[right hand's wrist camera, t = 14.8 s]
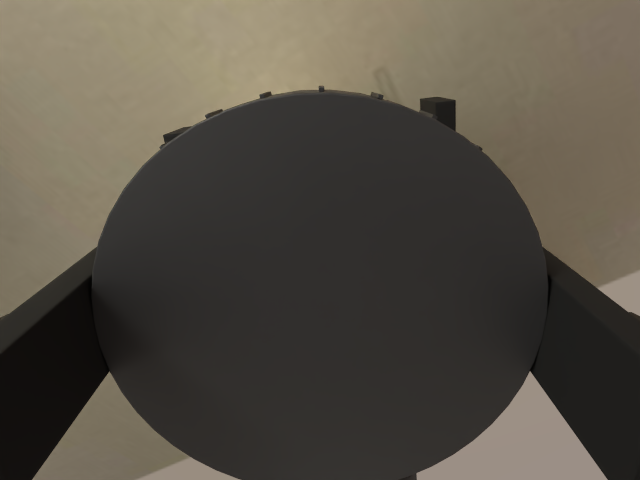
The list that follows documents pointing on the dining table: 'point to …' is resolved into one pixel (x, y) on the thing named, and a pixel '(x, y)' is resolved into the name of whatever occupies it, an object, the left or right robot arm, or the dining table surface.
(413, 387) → the lid
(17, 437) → the right robot arm
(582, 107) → the dining table surface
